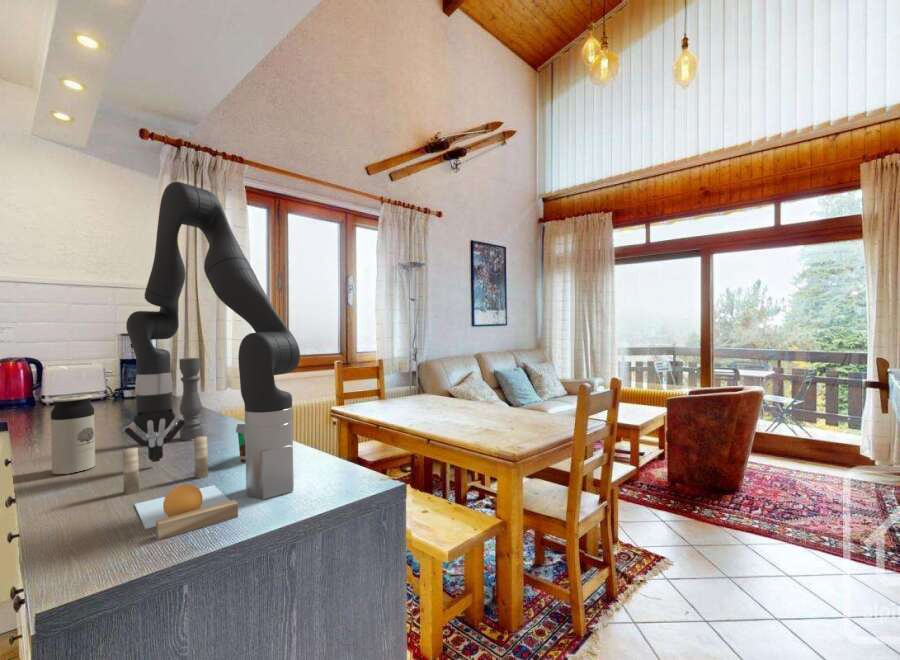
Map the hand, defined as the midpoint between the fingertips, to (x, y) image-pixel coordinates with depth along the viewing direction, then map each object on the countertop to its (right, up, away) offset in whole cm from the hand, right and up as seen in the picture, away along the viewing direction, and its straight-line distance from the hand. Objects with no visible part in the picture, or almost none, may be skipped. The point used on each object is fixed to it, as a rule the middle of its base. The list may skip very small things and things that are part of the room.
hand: (155, 460), depth 106 cm
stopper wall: (+30, -1, -32) cm, 44 cm away
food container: (+24, -1, +7) cm, 25 cm away
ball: (+25, +2, -29) cm, 39 cm away
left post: (+6, -2, -16) cm, 17 cm away
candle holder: (-8, -2, +28) cm, 29 cm away
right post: (+16, -1, -7) cm, 17 cm away
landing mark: (+22, -1, -24) cm, 32 cm away
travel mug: (-19, -2, -1) cm, 19 cm away
